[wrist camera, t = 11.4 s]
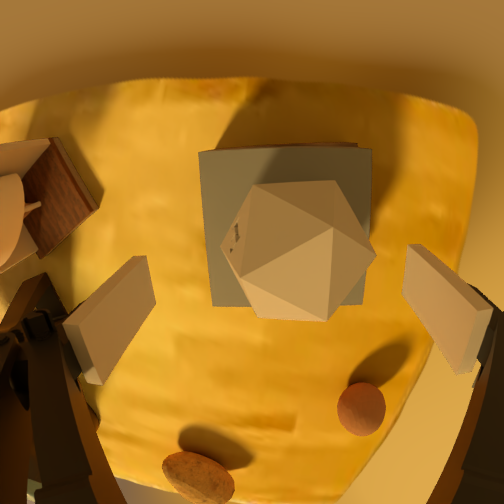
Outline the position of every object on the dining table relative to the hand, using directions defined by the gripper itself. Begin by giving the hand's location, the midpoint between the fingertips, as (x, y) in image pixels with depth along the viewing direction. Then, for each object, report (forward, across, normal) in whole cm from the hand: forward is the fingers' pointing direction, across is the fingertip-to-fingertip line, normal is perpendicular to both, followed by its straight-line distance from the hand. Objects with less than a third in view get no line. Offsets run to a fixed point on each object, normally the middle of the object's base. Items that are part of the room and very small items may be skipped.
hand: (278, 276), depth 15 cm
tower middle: (+13, -1, 0) cm, 13 cm away
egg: (+18, -10, +26) cm, 33 cm away
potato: (+18, +15, +46) cm, 51 cm away
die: (+8, -1, 0) cm, 8 cm away
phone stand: (+18, +34, +12) cm, 40 cm away
